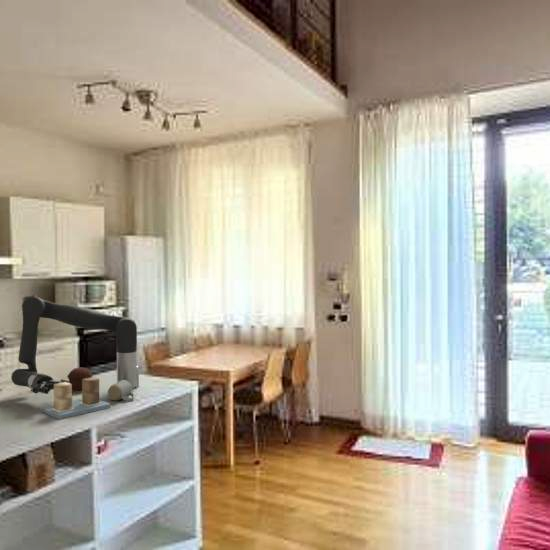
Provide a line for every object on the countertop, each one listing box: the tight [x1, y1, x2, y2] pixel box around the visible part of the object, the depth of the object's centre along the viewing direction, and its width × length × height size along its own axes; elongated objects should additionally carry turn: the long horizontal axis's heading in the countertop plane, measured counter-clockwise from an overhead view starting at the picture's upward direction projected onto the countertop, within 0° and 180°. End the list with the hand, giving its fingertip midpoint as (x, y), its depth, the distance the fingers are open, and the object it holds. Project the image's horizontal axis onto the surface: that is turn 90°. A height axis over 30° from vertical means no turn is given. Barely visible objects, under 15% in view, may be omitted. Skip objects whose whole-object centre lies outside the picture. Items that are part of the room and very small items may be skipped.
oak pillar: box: [53, 382, 73, 411], centre depth 214 cm, size 5×5×10 cm
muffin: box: [66, 366, 94, 392], centre depth 252 cm, size 12×11×10 cm
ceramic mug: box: [107, 380, 135, 402], centre depth 234 cm, size 11×8×8 cm
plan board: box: [42, 399, 112, 420], centre depth 219 cm, size 22×14×2 cm, turn 137°
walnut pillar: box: [81, 376, 100, 405], centre depth 223 cm, size 5×5×10 cm
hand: (58, 389), depth 217 cm, fingers open, 8 cm apart
